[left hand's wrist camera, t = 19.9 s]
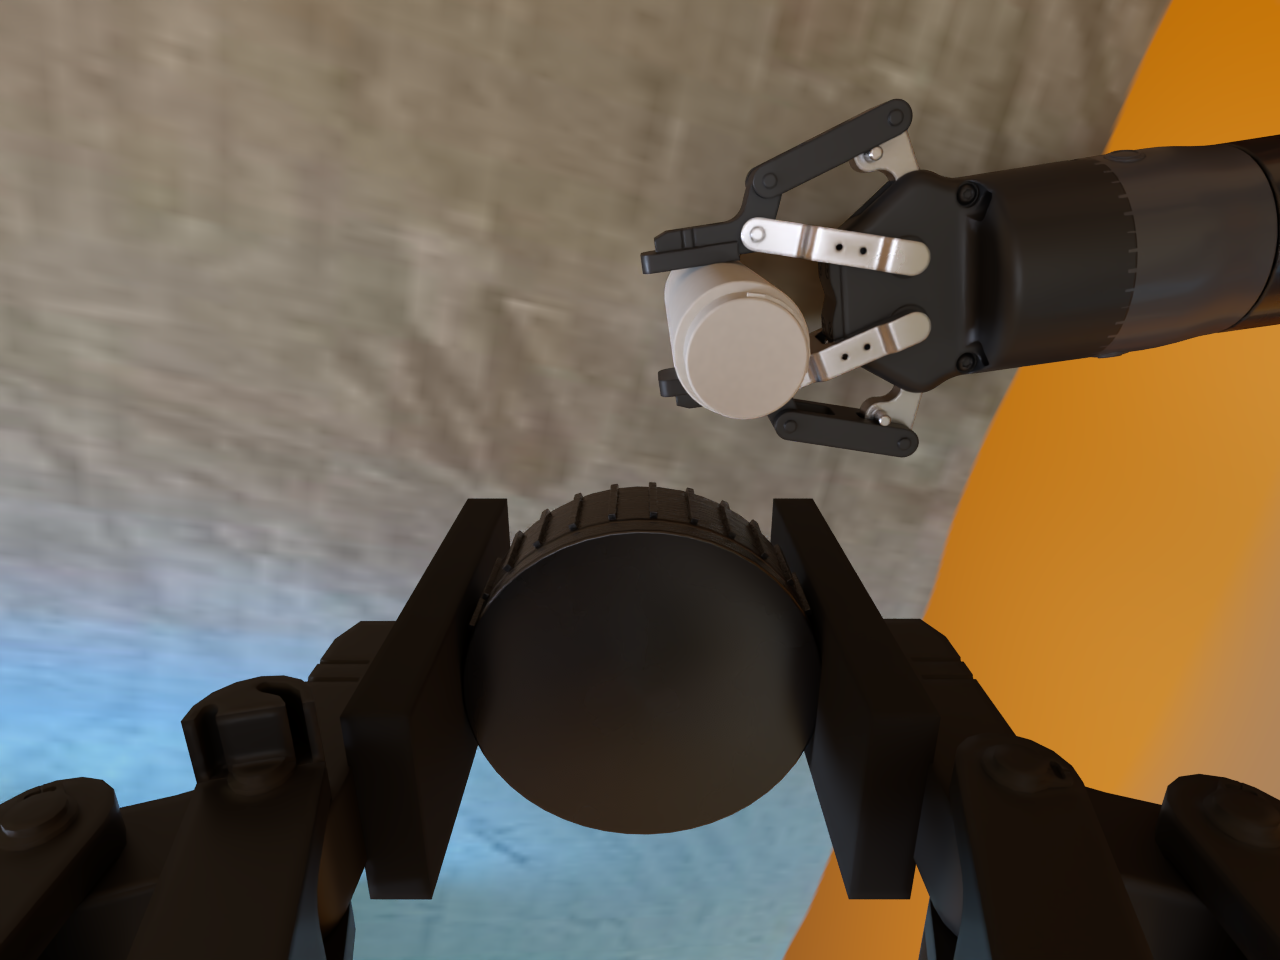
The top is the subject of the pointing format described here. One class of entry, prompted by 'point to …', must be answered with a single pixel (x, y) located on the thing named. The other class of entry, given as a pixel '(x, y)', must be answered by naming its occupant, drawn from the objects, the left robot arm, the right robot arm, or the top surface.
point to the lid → (642, 662)
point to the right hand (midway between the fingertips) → (653, 324)
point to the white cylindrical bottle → (735, 339)
